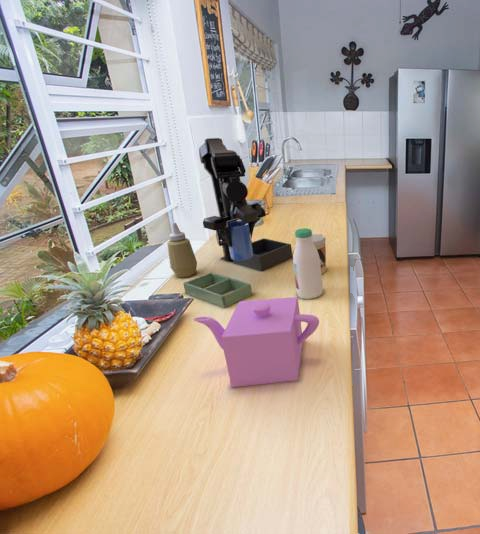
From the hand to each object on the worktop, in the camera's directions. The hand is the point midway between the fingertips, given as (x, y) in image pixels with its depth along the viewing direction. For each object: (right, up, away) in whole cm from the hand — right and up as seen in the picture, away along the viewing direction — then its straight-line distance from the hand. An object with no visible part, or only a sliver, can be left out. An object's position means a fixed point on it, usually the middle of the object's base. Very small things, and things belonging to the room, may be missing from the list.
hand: (240, 243), depth 123 cm
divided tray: (-4, -16, -6) cm, 17 cm away
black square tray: (+1, -5, +19) cm, 20 cm away
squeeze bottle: (-22, -10, +8) cm, 25 cm away
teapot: (+21, -29, -38) cm, 52 cm away
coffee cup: (+22, -9, +10) cm, 25 cm away
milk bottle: (+24, -16, -6) cm, 29 cm away
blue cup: (0, -4, +2) cm, 4 cm away
